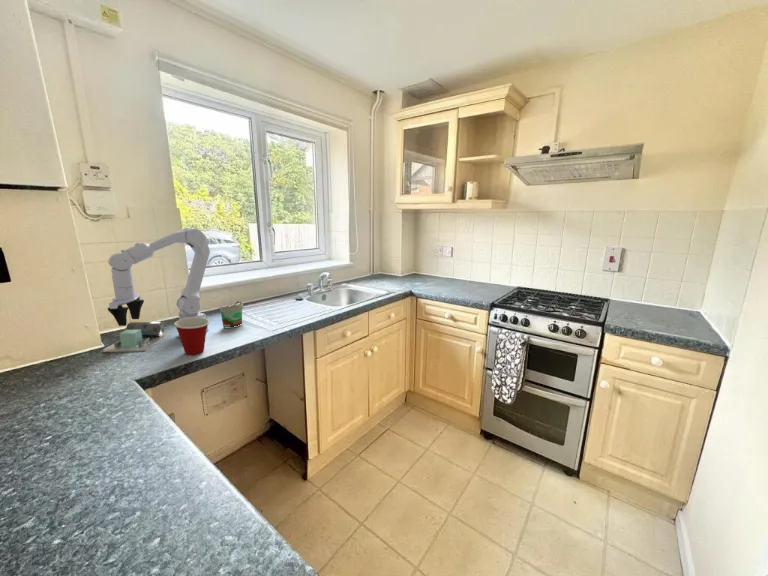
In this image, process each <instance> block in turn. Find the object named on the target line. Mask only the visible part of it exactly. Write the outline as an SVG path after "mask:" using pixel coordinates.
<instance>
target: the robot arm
mask: <svg viewBox="0 0 768 576" xmlns="http://www.w3.org/2000/svg"><path fill="white" fill-rule="evenodd" d="M176 243H178V244H187V245H188V246H189V247H190V248H191V249H192V250H193V252H194V255H193V258H192V262H191V266H190V269H189V273H188V277H187V280H186V284H185V288H184V289H183V290H182V292H181V294H180V297H179V298H178V299H177V301H176V306H177V308H178V309H179V312H178V318H179V319H178V320H181V319H185V318H194V317H197V318H205V319H208V318H207V314H206V313H202V312H200V309H201V304H200V300H201V298H200V297H201V296H200V289H201V287H202V282H203V279H204V275H205V271H206V268H207V264H208V260H209V257H210V253H211V250H210V247H209V244H208V241H207V236H206V234H204V233H203V232H202V230H201V229H199V228H192V227H185V228H183V229H178V230H175V231H173V232H171V233H169V234H166V235H164V236H162V237H160V238H158V239H157V240H154V241H151V242H150V243H145V242H141V243H139V242H136V243H134V245H133V246H131V247H129V248H127V249H120V252H115V253H113V254H111V255H110V256H109V259H108V261H107V263H108V265H109V266H110V267H111V273H112V274H111V280H112V284H113V285H112V286H113V291H114V297H113V298H112V301H111V302H109V303H108V306H109V307H107V311H108V313H110V314H111V315H112V316H113V317H114V319H115V321H116V323H117V325H118V326H119V327H127V325H128V322H127V320H128V319H127V316H128V315H127V313H128V311H129V314H130V318H131V319H132V320H139V319H140V316H141V310H142V306H143V305H144V302H145V300H144V299H142V294H141V293H136V290H135V285H134V278H133V273H132V266H133V265H137V264H139V263H141V262H143V261H145V260H147V259H149V258H152V257H153V256H154V253H155V252H156V251H159V250H161V249H164V248H166V247H169V246H172V245H173V244H176ZM124 305H126V306H124ZM209 330H210V329H209V328H208V326H207V329H206V333H207V332H208V331H209ZM176 337H178V338H180V336H179V333H178V334H177V335H176Z"/></svg>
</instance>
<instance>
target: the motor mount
mask: <svg viewBox="0 0 768 576" xmlns="http://www.w3.org/2000/svg"><path fill="white" fill-rule="evenodd" d="M125 330H141V333H142V341H140V342H138V345H137V346H121V341H120V339H119V340H117V341H115V342H114V343H112V344H110V345H109V346H107V347H104V348H103V349H102V352H103V353H115V352H116V353H119V352H122V353H123V352H125V353H126V352H146V351H148V350H149V349H151V348H153V347H154V346H156V345H157V344H159V343H160V342H162V341H163V340H164V339H166V338H167V337H169V336H170V334H171V333H170V332H165V323H164V322H162V321H130V322H129V323H128V322H127V324H126V326H125V328H124V331H125Z"/></svg>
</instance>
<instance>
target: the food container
mask: <svg viewBox="0 0 768 576" xmlns="http://www.w3.org/2000/svg"><path fill="white" fill-rule="evenodd" d="M244 308H245V307H244V303H243V302H242V301H240V300H236V302H235V303H233V304H228V305H227V306H224V307H223V306H220V307H219V313H220V314H221V315H220V316H221V321H222V328H223V327H234V326H238V325H240V324H242V325H243V309H244ZM238 327H239V326H238ZM234 328H235V327H234Z"/></svg>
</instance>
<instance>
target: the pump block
mask: <svg viewBox="0 0 768 576" xmlns="http://www.w3.org/2000/svg"><path fill="white" fill-rule="evenodd" d="M118 336H119V340H120V341H121V346H137V345H138V342H140V341H142V333H141V330H125V329H124V330H123V331H121V332H119V335H118Z"/></svg>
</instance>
